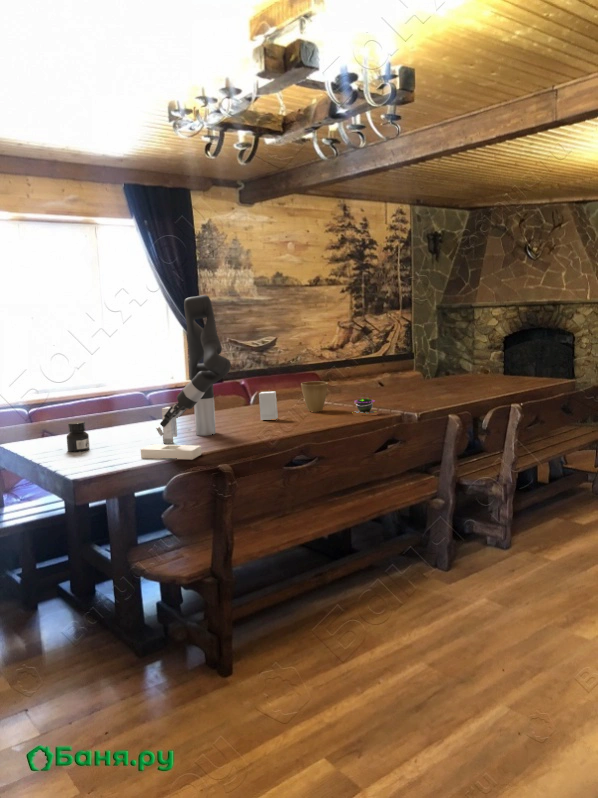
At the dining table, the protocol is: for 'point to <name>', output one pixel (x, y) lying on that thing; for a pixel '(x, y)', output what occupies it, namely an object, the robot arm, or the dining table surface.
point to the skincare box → (268, 405)
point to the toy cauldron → (364, 405)
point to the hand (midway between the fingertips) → (165, 424)
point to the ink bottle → (77, 437)
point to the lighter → (163, 436)
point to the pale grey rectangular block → (169, 426)
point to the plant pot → (314, 395)
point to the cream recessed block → (171, 451)
